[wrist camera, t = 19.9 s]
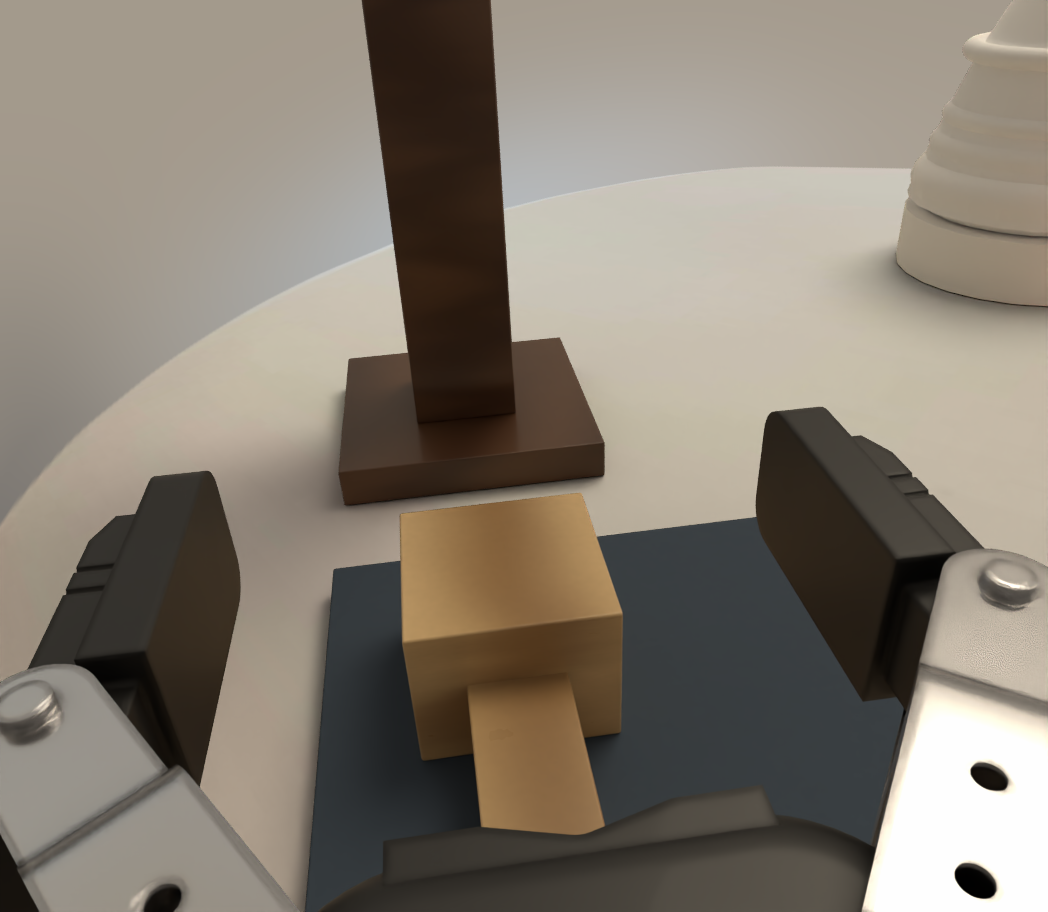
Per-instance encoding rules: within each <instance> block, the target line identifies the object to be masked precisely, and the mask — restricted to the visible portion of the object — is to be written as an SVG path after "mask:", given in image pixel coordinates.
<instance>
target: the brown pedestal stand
mask: <svg viewBox="0 0 1048 912" xmlns="http://www.w3.org/2000/svg"><path fill="white" fill-rule="evenodd" d="M362 7H363V14H364V22H365V29H366V37H367V45H368V52H369V60H370V67H371V75H372V82H373V90H374V97H375V105H376V112H377V120H378V128H379V136H380V143H381V151H382V159H383V166H384V174H385V181H386V189H387V197H388V204H389V212H390V220H391V227H392V234H393V242H394V250H395V258H396V265H397V273H398V281H399V288H400V296H401V303H402V311H403V319H404V326H405V334H406V341H407V349H408V353H401V354H391V355H382V356H372V357H362V358H352V359H349V361H348V372H347V384H346V395H345V406H344V417H343V428H342V439H341V451H340V462H339V478H340V483H341V489H342V494H343V499H344V504H345V505H351V504H360V503H369V502H377V501H386V500H394V499H403V498H412V497H420V496H429V495H437V494H446V493H455V492H463V491H472V490H480V489H489V488H498V487H506V486H515V485H523V484H532V483H541V482H549V481H558V480H566V479H575V478H584V477H592V476H601V475H604V474H605V443H604V441H603V438H602V436H601V434H600V431H599V429H598V426H597V424H596V422H595V419H594V417H593V415H592V412H591V410H590V408H589V405H588V403H587V401H586V398H585V396H584V393H583V391H582V389H581V386H580V384H579V382H578V379H577V377H576V375H575V372H574V370H573V368H572V365H571V363H570V360H569V358H568V356H567V353H566V351H565V349H564V346H563V344H562V342H561V339H560V338H549V339H539V340H530V341H520V342H512V339H511V323H510V307H509V290H508V274H507V258H506V242H505V225H504V209H503V194H502V177H501V161H500V145H499V129H498V114H497V113H498V112H497V96H496V81H495V63H494V48H493V31H492V14H491V0H362Z"/></svg>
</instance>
